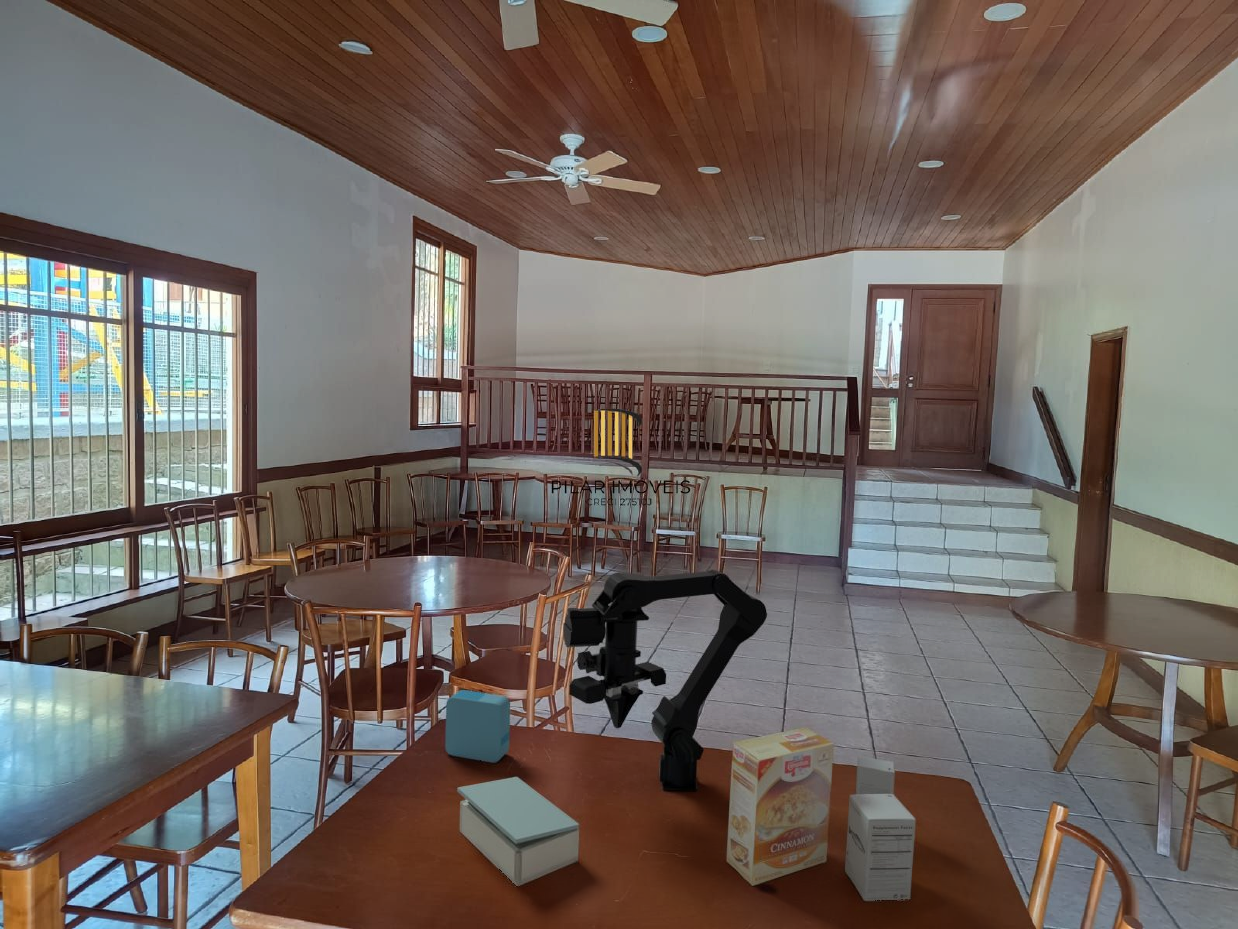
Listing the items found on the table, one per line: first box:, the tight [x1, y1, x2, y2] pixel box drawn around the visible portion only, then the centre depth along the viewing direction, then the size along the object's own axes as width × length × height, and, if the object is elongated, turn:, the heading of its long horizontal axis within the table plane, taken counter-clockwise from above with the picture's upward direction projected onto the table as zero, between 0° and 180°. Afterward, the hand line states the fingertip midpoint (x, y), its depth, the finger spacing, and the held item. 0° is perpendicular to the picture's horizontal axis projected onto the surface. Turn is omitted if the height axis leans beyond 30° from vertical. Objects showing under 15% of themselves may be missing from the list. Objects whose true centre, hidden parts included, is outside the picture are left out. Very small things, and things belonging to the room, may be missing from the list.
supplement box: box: [844, 793, 917, 902], centre depth 113 cm, size 7×7×13 cm
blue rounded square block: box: [445, 689, 511, 764], centre depth 151 cm, size 12×4×12 cm, turn 74°
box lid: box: [456, 776, 580, 844], centre depth 120 cm, size 11×18×1 cm, turn 39°
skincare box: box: [855, 755, 896, 795], centre depth 128 cm, size 6×4×12 cm
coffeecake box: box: [726, 726, 835, 887], centre depth 118 cm, size 15×7×20 cm, turn 117°
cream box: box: [459, 799, 580, 887], centre depth 121 cm, size 11×18×5 cm, turn 39°
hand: (617, 727), depth 138 cm, fingers closed
